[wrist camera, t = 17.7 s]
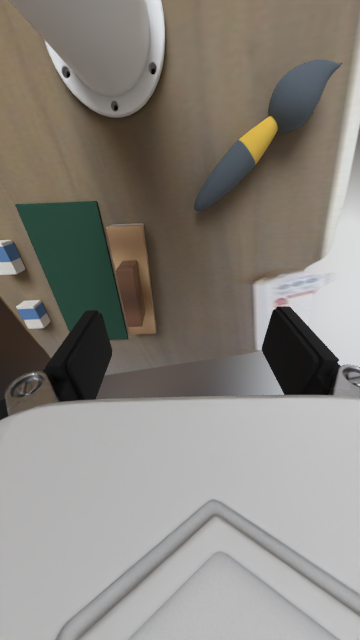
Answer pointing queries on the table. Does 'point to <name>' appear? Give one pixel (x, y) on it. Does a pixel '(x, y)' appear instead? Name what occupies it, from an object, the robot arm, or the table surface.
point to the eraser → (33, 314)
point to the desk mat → (75, 260)
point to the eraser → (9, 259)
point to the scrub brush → (133, 276)
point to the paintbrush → (269, 127)
